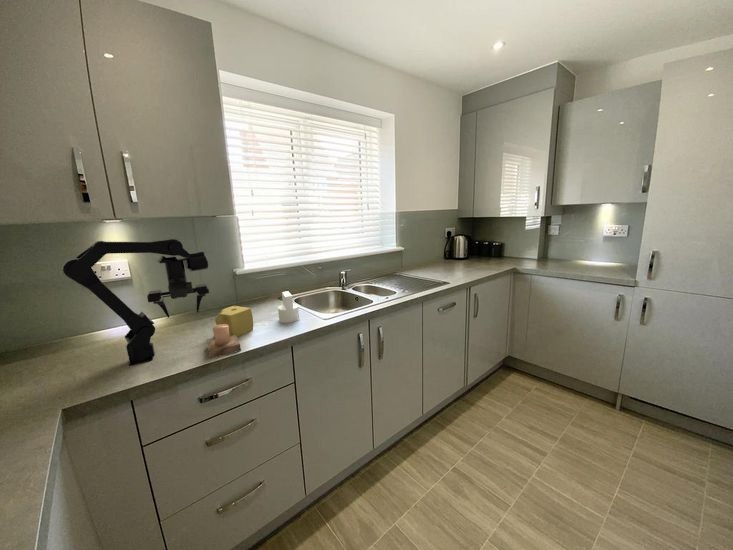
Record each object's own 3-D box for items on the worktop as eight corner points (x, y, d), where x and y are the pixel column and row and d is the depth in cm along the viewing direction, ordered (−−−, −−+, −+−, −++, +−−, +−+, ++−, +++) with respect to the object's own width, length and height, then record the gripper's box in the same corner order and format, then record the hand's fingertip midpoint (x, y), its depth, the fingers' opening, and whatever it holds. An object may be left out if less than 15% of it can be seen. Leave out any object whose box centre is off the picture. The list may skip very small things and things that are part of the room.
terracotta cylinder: (215, 346, 104) (213, 330, 102) (214, 341, 108) (212, 326, 107) (231, 342, 106) (229, 327, 105) (229, 338, 110) (227, 323, 109)
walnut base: (209, 358, 101) (208, 351, 100) (207, 347, 109) (206, 340, 109) (240, 350, 106) (239, 343, 105) (236, 340, 114) (235, 334, 114)
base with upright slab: (277, 317, 138) (275, 293, 135) (297, 314, 141) (294, 290, 139) (280, 324, 130) (278, 298, 127) (301, 320, 133) (299, 294, 131)
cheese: (216, 335, 120) (212, 312, 118) (238, 326, 130) (235, 304, 127) (233, 339, 115) (230, 315, 113) (255, 329, 125) (252, 307, 123)
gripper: (141, 281, 95) (150, 327, 98) (206, 273, 104) (213, 315, 108) (145, 276, 104) (153, 317, 108) (204, 269, 114) (211, 307, 117)
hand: (183, 314), depth 110 cm, fingers open, 9 cm apart
